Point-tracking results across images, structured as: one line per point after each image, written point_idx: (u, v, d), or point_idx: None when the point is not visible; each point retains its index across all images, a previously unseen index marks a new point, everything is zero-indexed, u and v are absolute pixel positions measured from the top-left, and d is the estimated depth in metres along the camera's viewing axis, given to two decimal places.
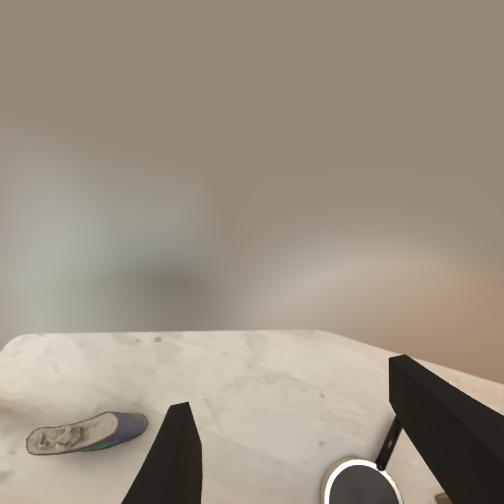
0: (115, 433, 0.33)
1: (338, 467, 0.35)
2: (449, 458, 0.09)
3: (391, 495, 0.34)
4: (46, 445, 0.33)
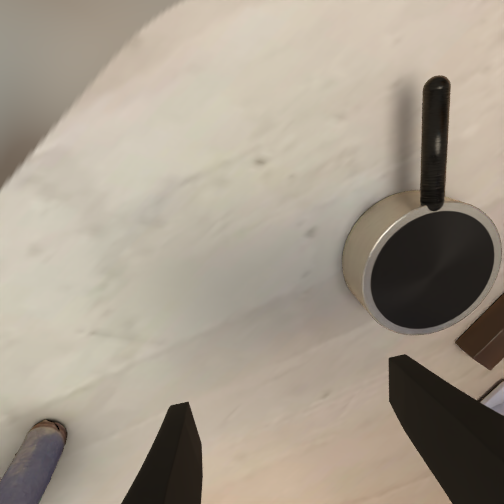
0: None
1: (368, 261, 0.18)
2: (449, 458, 0.09)
3: (469, 228, 0.18)
4: None
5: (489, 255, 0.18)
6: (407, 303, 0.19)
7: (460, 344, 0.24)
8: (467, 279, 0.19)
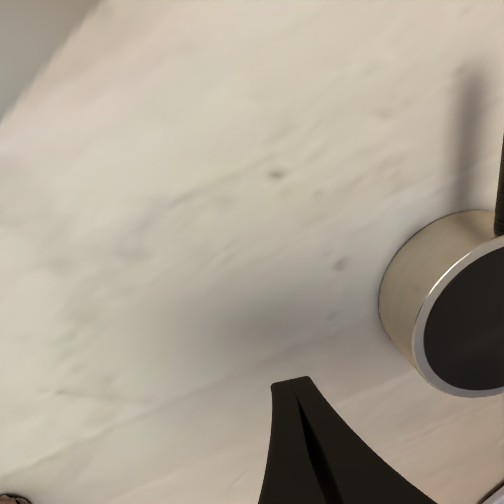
0: None
1: (422, 309, 0.13)
2: (326, 487, 0.09)
3: None
4: None
5: None
6: (469, 360, 0.14)
7: None
8: None
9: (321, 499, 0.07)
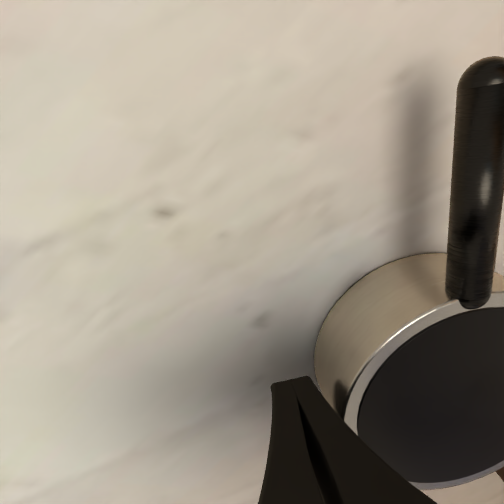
0: None
1: (351, 393, 0.10)
2: (326, 487, 0.09)
3: None
4: None
5: None
6: (419, 449, 0.11)
7: None
8: None
9: (321, 499, 0.07)
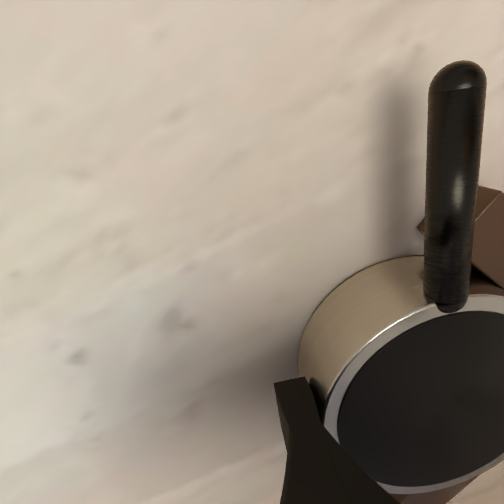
0: None
1: (330, 397, 0.10)
2: None
3: None
4: None
5: None
6: (401, 453, 0.11)
7: None
8: None
9: (345, 493, 0.07)
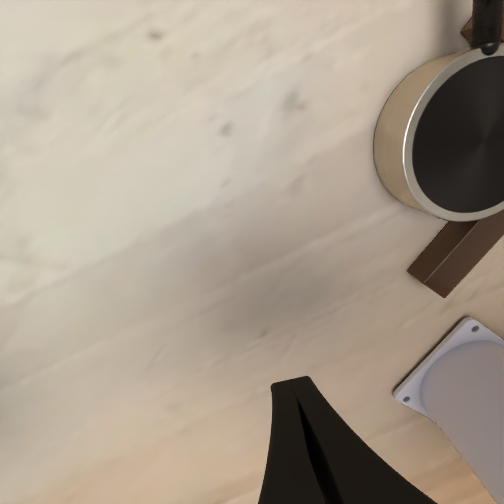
0: None
1: (410, 122, 0.15)
2: (326, 487, 0.09)
3: None
4: None
5: None
6: (453, 179, 0.16)
7: (412, 271, 0.21)
8: None
9: (321, 499, 0.07)
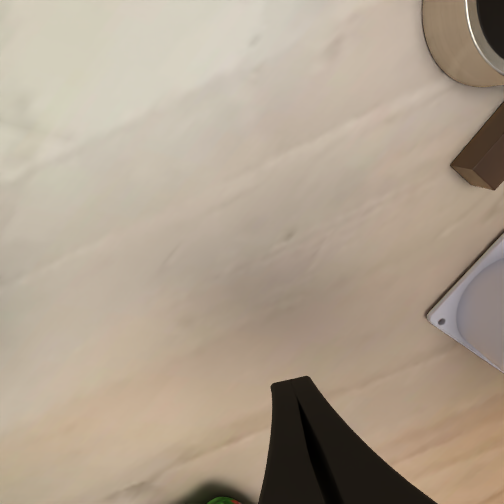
0: None
1: None
2: (325, 487, 0.09)
3: None
4: None
5: None
6: None
7: (456, 163, 0.19)
8: None
9: (321, 499, 0.07)
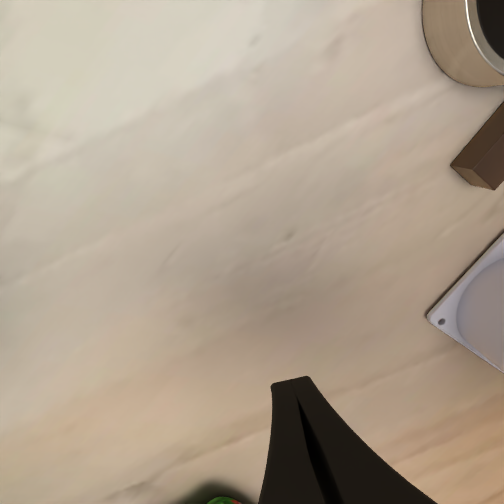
0: None
1: None
2: (325, 487, 0.09)
3: None
4: None
5: None
6: None
7: (456, 163, 0.19)
8: None
9: (321, 499, 0.07)
